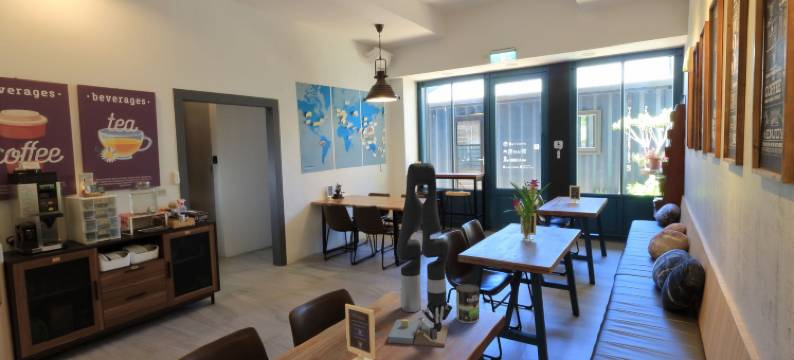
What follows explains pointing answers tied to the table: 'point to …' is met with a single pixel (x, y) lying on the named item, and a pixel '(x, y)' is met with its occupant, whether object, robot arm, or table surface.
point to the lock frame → (407, 332)
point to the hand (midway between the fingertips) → (437, 330)
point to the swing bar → (427, 328)
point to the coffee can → (467, 303)
